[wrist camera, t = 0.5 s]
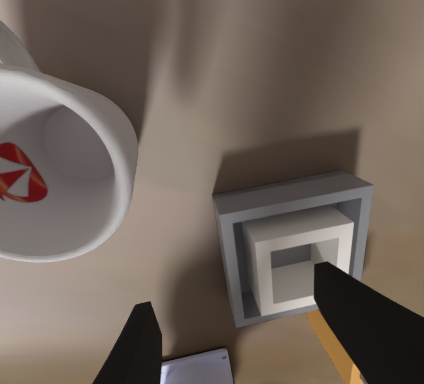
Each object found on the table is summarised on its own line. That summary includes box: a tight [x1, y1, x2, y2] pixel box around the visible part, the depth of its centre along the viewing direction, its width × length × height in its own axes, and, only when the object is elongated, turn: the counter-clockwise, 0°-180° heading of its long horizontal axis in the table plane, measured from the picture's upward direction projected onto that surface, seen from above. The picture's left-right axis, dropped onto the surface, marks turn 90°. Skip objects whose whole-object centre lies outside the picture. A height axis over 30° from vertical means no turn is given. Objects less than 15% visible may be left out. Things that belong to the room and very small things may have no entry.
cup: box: [0, 21, 138, 262], centre depth 12 cm, size 11×8×8 cm
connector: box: [307, 309, 368, 384], centre depth 22 cm, size 4×4×8 cm
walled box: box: [212, 170, 374, 328], centre depth 20 cm, size 11×11×4 cm
